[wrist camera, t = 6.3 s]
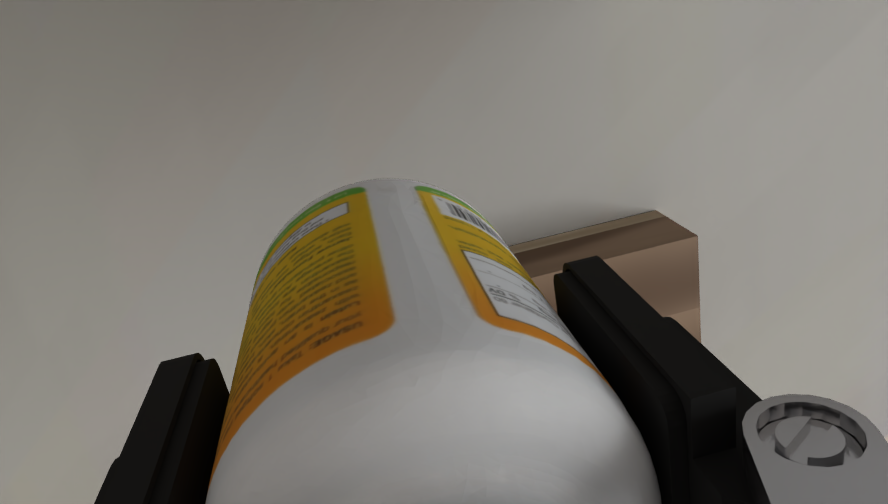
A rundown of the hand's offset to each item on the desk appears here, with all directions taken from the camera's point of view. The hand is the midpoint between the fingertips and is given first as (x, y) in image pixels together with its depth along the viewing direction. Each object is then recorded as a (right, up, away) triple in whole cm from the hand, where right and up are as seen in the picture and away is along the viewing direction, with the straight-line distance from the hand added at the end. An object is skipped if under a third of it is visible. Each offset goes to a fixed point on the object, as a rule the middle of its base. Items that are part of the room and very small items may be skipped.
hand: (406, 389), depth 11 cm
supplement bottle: (-1, +1, +3) cm, 4 cm away
